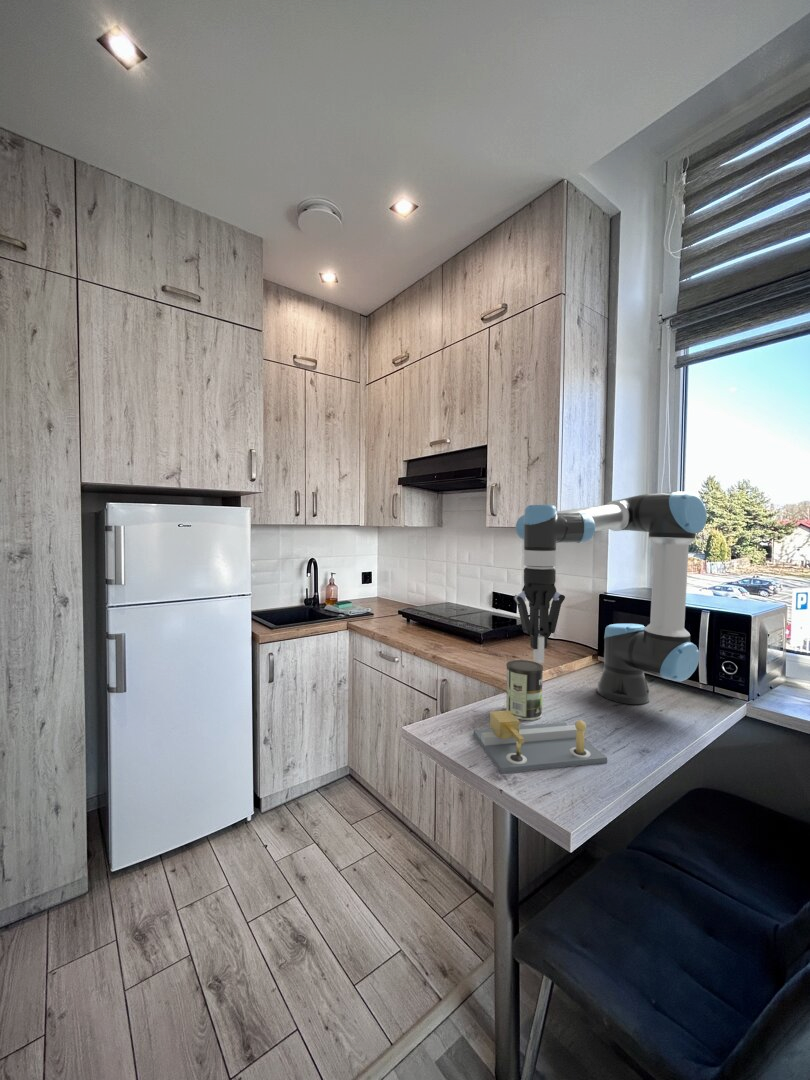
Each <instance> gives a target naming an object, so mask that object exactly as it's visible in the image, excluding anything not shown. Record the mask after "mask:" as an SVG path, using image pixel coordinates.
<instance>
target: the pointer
mask: <svg viewBox="0 0 810 1080" xmlns="http://www.w3.org/2000/svg"><path fill="white" fill-rule="evenodd" d="M489 713H490V714H489V715H490V718H489V720H490V722H489V727H490V728H491V729H492V730H493V731H494V733H495V734H496V735H497V736H498V737H499V739H504V738H515V739H516V740H517V745H516V755H517V756H521V743H524V738H523V737H522V736H521V735H520V734H519V726H520V719H517V718H516V717H515V716H514V715H513V714H512V713H511V712H510V711H509V710H506V709H505V710H497V711H496V710H494V711H493V710H492V711H490V712H489Z"/></svg>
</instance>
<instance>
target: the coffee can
mask: <svg viewBox="0 0 810 1080" xmlns="http://www.w3.org/2000/svg"><path fill="white" fill-rule="evenodd" d="M505 667H506V697H505V698H506V705H505V707H506V708H505V711H506V710H509V711H510V712H511V713H512V714H513V715H514V716H515V717H516V718H517V719H518V720H519V721H520V720H521V721H537V720H539V719H541V718H542V716H543V677H544V676H543V674H544V673H543V671H544V667H543V665H542V663H537V662H536V661H534V660H533V661H531V660H525V659H516V660H514V659H513V660H509V661H508V662H506V665H505Z"/></svg>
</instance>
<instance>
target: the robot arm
mask: <svg viewBox="0 0 810 1080" xmlns="http://www.w3.org/2000/svg"><path fill="white" fill-rule="evenodd" d="M707 515H708V514H707V510H706V506H705V503H704V502H703V500H702V499H701V498H700V496H699V495H697V494H696V493H694V492H690V491H672V492H663V493H662V492H661V493H658V492H657V493H644V494H639V495H634V496H629V497H626V498H622V499H617V500H611V501H609V502H607V503H606V504H603V505H602V504H601V505H595V506H589V507H580V508H571V509H564V510H557V507H556V505H555V504H529V505H527V506H526V507H525V508H524V514H523V515H521V516H520V517H519V518H518V519H517V521H516V523H515V531H516V534H517V535H518V538H520V539H522V540H523V548H524V549H523V565H524V566H525V567H524V569H523V583H524V584H523V588H522V589H521V591H522V592H520V593H519V594H517V595H516V594H515V595H513V600H514V601H515V603H516V605H517V609H518V613H519V618H520V621H521V622H520V623H521V627H522V631H523V633H525V634H527V635H529V636H530V648H531V649H532V650H533V652H532V653H533V654H532V655H533V659H532V660H533V662H536V663H539V664H545V649H547V648H548V637H550V636H551V635H550V634H555V632H556V629H557V625H558V620H559V616H560V610H561V607H562V604H563V602H564V601H565V599H566V596H565V595H564V594H561V593H559V592H558V591H557V588H556V585H555V584H556V572H557V571H556V569H555V568H554V567H556V565H557V562H556V561H557V558H556V556H557V555H556V554H557V553H556V550H557V543H564V544H565V543H576V544H577V543H578V544H579V543H585V542H588V541H590V540H591V539H592V538H593V537H594V536H595V532H599V531H600V532H601V531H605V530H611V531H612V532H620V531H632V532H633V531H634V532H644V533H645V532H646V533H647V532H648V539H650V541H651V542H653V561H652V562H653V563H652V581H651V582H652V583H651V601H650V617H649V618H650V620H649V622H650V623H649V624H647V626H644V624H639V623H613V624H612V623H611V624H609V625H606V627H605V628H604V629H605V630H604V637H603V641H604V644H603V647H604V648H603V670H602V673H601V675H600V677H599V681H598V683H597V693H598V694H599V695H600V696H601V697H603V698H605V699H607V700H609V701H613V702H616V703H621V704H628V705H643V704H647V703H649V702H650V700H651V699H650V698H651V695H650V694H651V693H650V690H649V686H648V682H647V680H646V676H645V672H647V673H649V674H652V675H656V676H658V677H660V678H662V679H665V680H671V681H674V682H683V681H686V680H687V679H689V678H690V677H691V676H692V675H693V674H695V671H696V670H697V668H698V665H699V660H700V650H699V648H698V647H697V645H696V644H694V643H693V642H691V634H690V632H689V631H688V630H687V629H686V628H685V621H686V606H687V605H686V604H687V602H686V601H687V585H688V583H687V582H688V565H689V564H688V562H689V547H690V545H691V544H692V543H693V542H694V541H695V540H696V534H698V533H700V532H702V531H703V530H704V528H705V526H706V524H707V522H708V521H707V519H708V516H707ZM526 600H527V601H528V607H529V613H528V608H527V604H526Z"/></svg>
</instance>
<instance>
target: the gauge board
mask: <svg viewBox="0 0 810 1080" xmlns="http://www.w3.org/2000/svg"><path fill="white" fill-rule="evenodd" d="M586 728H587V724H586V723H585V722H584V721H583V720H581V719H580V720H577V721H576V722H575V724H570V725H568V724H567V723H566V722H554V723H553V722H551V723H540V724H529V725H519V734H520V735H521V736H522V737H523V738H524V743H521V756H517V755H516V745H517V740H516V739H515V738H504V739H499V737H498V736H497V735H496V734H495V733H494V731H493V730H492V729H491V728H479V729H477V728H476V729H473V731H472V733H473V734H472V735H473V736H474V737H475V739H476V740H477V742H478V743H479V744H480V746H481V748H483V750H484V752H485V753H486V754H487V756H488V757H489V758H490V760H491V761H492V763H493V764H494V766H495V767H496V769H498V771H499V772H500V774H507V773H508V774H510V773H518V772H529V771H538V770H547V769H548V770H549V769H556V768H557V769H558V768H566V767H567V768H568V767H576V766H585V765H595V764H596V765H597V764H606V763H608V757H607V756H606V755H605V754H603V753H602V751H600V750H599V749H598V748H596V747H595V746H594V745H593V744H592V743H590V742H589V741H588V740H586V738H585V734H586V733H585V731H586Z"/></svg>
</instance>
